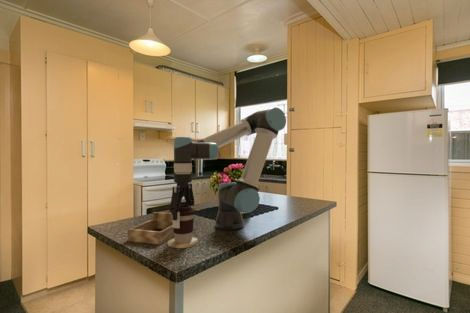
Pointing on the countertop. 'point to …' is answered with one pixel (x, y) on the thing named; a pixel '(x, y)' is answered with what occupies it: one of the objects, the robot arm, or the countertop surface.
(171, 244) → the disc
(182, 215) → the coffee cup
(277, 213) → the countertop surface
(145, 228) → the open wooden box
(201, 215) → the countertop surface
